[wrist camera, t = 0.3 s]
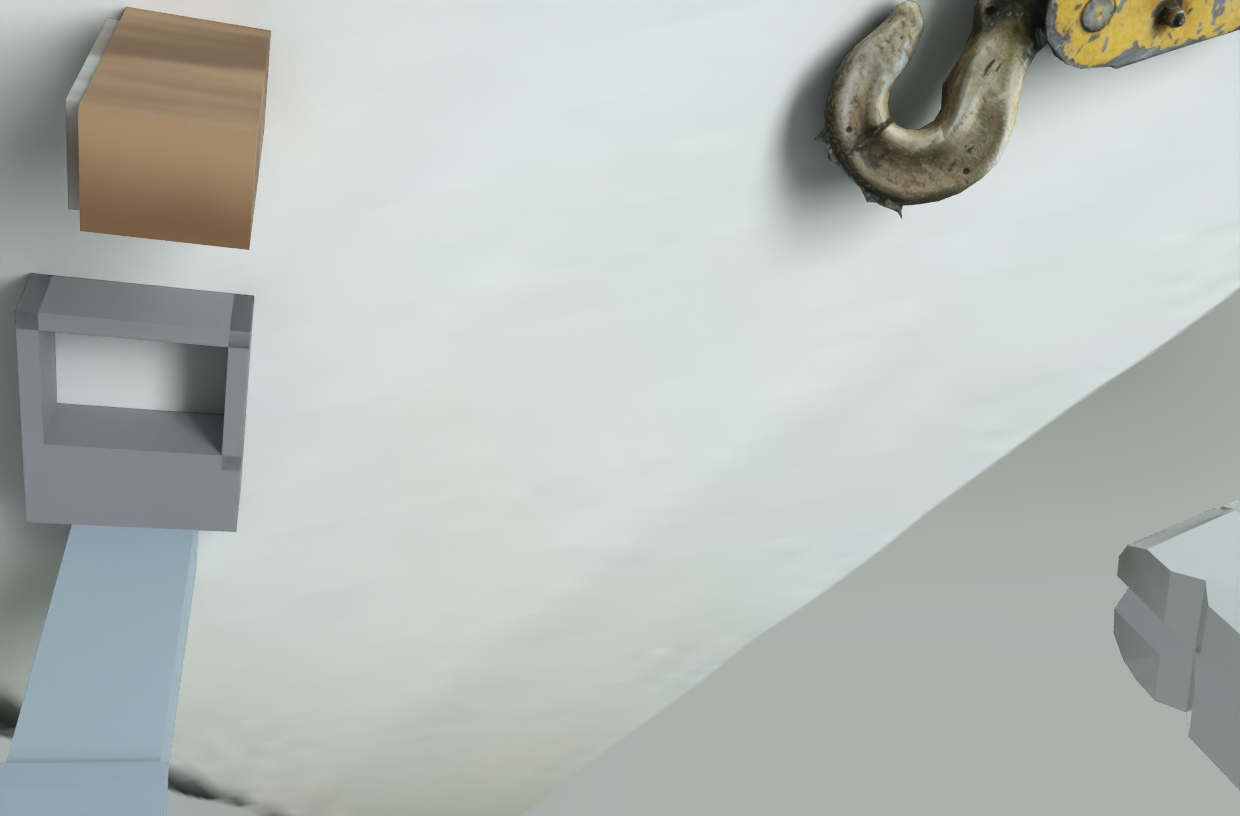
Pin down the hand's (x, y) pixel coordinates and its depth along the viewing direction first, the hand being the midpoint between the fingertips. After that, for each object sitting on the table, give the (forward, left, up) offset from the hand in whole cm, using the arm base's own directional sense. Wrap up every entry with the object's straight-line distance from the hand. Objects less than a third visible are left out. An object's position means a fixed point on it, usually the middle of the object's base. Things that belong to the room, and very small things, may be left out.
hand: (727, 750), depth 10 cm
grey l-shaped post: (+23, -16, -39) cm, 47 cm away
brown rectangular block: (+6, -9, -39) cm, 40 cm away
